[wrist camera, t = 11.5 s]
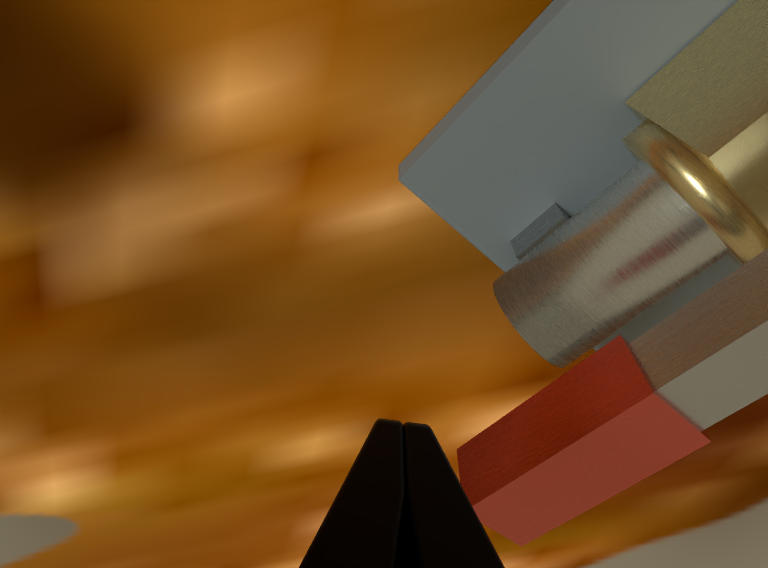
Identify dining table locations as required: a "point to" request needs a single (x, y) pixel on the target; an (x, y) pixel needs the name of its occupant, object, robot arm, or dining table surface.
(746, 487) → the dining table surface
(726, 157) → the valve body
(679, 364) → the valve lever
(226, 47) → the dining table surface
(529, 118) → the valve board
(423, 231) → the dining table surface
